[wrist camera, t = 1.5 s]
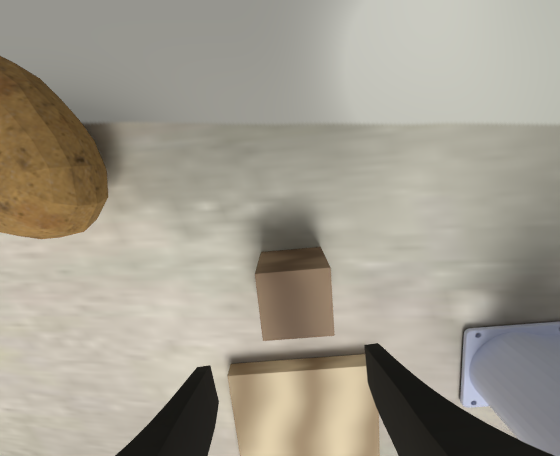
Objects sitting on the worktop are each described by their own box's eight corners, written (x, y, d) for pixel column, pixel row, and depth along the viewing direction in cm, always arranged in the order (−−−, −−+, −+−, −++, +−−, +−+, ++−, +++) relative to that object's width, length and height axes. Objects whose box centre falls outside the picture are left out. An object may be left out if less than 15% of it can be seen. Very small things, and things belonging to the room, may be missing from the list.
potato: (99, 254, 23) (1, 298, 15) (-50, 139, 21) (-251, 121, 13) (167, 167, 21) (98, 165, 13) (12, 34, 19) (-174, -59, 11)
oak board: (371, 353, 24) (377, 365, 23) (376, 510, 28) (381, 529, 27) (230, 363, 25) (227, 376, 23) (254, 517, 29) (252, 535, 27)
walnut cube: (320, 246, 22) (330, 267, 17) (324, 301, 23) (334, 335, 18) (261, 251, 22) (254, 274, 18) (267, 305, 24) (263, 340, 19)
